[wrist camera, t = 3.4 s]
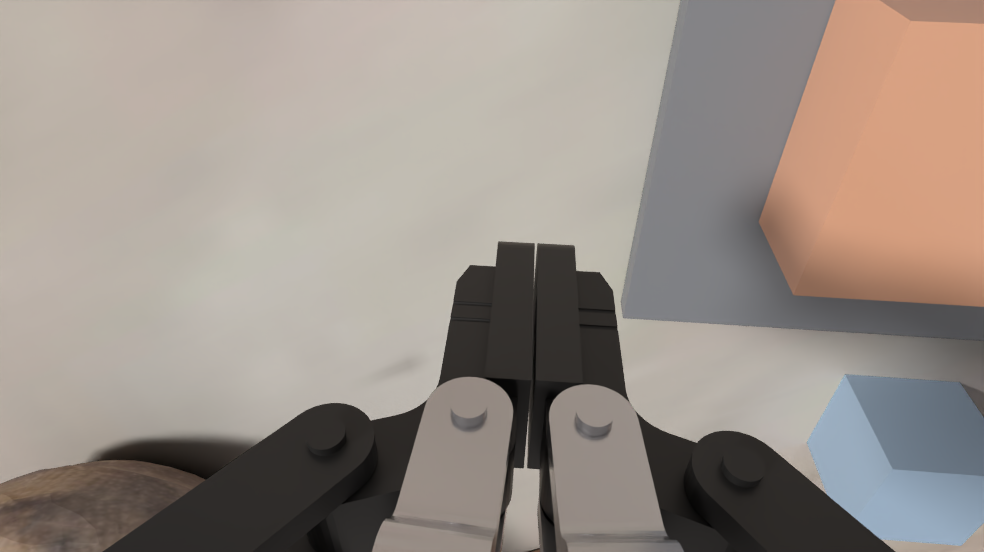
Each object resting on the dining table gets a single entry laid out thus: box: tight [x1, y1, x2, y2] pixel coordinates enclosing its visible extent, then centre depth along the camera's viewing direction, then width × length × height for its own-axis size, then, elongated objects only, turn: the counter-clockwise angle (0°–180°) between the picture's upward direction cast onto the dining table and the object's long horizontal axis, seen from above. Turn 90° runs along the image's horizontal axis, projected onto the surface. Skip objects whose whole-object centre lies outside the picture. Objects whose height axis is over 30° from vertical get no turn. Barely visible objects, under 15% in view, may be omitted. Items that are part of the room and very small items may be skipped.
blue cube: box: [807, 374, 984, 546], centre depth 27 cm, size 5×5×5 cm
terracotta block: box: [759, 0, 984, 307], centre depth 18 cm, size 8×8×4 cm
